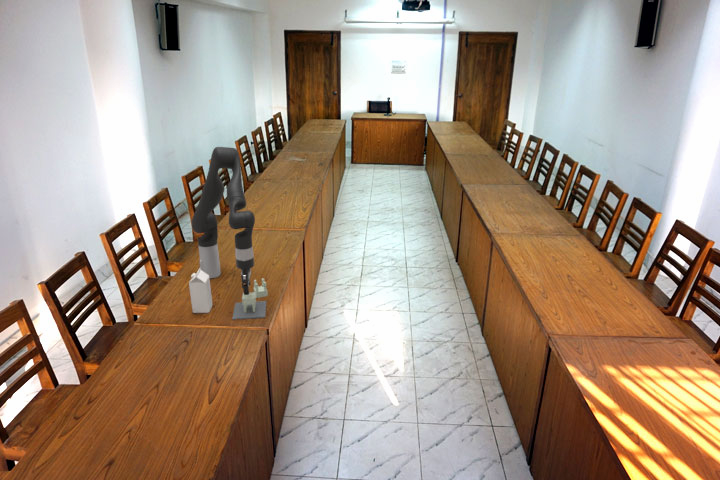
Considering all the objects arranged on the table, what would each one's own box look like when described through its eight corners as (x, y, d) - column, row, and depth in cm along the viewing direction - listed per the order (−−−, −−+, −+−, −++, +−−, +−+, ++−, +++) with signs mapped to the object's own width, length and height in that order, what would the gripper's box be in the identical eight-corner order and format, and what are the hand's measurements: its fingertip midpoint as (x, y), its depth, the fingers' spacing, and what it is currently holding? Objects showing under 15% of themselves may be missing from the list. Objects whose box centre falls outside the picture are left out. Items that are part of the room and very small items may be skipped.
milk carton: (212, 305, 231) (208, 267, 223) (209, 313, 224) (204, 274, 217) (197, 305, 230) (192, 267, 223) (192, 313, 224) (187, 274, 217)
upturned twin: (256, 298, 237) (255, 284, 234) (253, 293, 242) (252, 279, 239) (267, 296, 239) (266, 282, 236) (265, 290, 244) (264, 277, 241)
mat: (232, 319, 219) (232, 318, 219) (235, 303, 232) (235, 302, 231) (265, 317, 221) (265, 316, 220) (266, 302, 233) (266, 300, 233)
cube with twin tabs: (243, 312, 223) (241, 298, 220) (244, 306, 228) (242, 293, 226) (256, 312, 224) (254, 298, 221) (256, 305, 229) (255, 292, 226)
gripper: (237, 249, 222) (240, 282, 228) (233, 263, 209) (236, 298, 215) (254, 249, 223) (257, 281, 229) (252, 263, 210) (254, 297, 216)
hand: (247, 289), depth 222 cm, fingers open, 8 cm apart
